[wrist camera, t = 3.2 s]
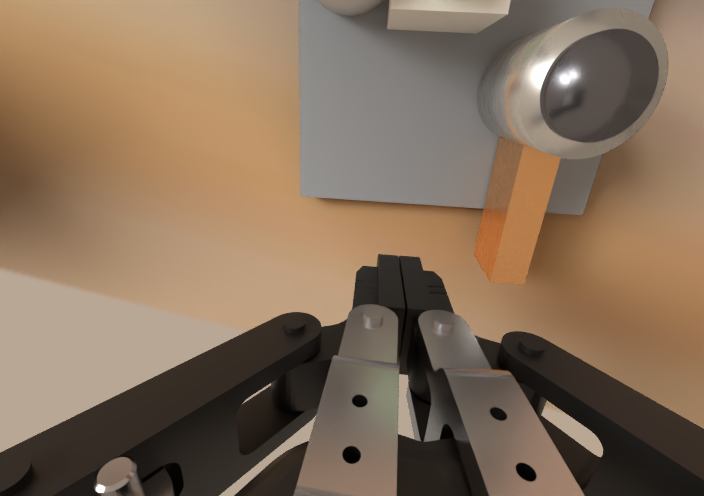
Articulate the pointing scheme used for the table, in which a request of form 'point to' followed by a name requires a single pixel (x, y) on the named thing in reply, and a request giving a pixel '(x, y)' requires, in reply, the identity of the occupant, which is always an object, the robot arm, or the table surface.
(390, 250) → the table surface
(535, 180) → the knob
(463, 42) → the levelling plate
